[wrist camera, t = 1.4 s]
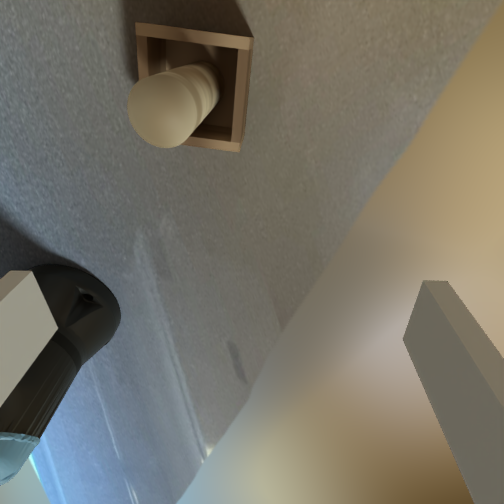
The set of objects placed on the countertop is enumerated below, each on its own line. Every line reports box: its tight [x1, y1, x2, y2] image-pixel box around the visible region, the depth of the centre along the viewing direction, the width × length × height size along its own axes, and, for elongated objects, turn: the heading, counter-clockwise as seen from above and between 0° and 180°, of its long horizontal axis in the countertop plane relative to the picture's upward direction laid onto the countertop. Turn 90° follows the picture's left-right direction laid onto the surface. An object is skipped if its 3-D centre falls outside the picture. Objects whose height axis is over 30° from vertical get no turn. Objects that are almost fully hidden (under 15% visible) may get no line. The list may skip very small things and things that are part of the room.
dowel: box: [127, 61, 224, 148], centre depth 25 cm, size 4×4×14 cm
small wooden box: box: [135, 22, 254, 152], centre depth 29 cm, size 9×9×6 cm
